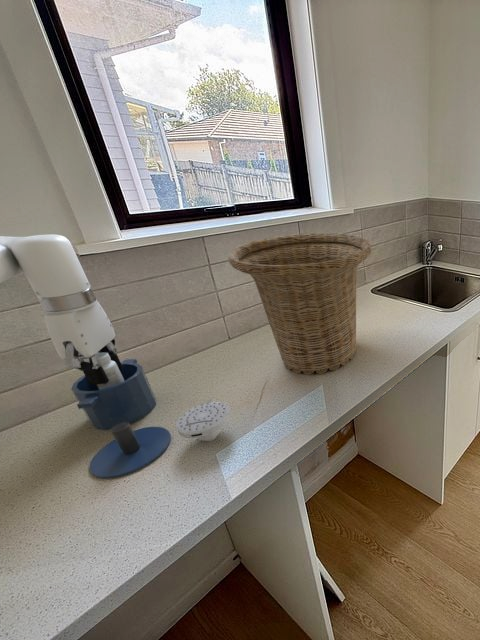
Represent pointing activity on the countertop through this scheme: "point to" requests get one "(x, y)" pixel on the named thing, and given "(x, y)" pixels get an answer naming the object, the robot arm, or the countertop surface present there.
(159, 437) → the lid
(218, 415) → the showerhead
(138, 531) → the countertop surface
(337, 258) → the wicker basket
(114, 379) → the pill bottle
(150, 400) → the pot
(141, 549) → the countertop surface
